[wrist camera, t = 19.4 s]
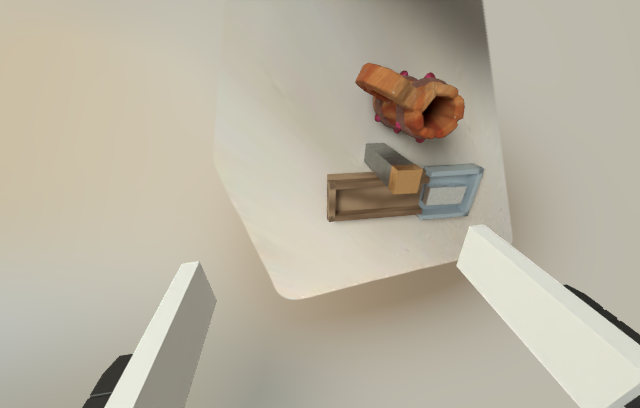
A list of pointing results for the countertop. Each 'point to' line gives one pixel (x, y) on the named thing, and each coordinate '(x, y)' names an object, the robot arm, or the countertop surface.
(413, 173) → the grey and tan block
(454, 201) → the chip
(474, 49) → the countertop surface
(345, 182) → the slot board
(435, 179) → the tray
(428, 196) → the chip
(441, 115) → the mug
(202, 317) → the robot arm
